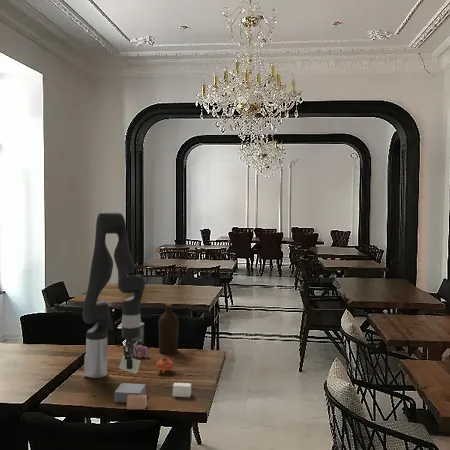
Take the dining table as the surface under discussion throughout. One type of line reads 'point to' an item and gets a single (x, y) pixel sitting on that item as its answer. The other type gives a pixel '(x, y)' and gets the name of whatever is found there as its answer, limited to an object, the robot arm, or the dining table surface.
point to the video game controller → (142, 351)
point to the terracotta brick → (136, 401)
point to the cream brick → (182, 389)
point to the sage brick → (134, 365)
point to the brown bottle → (168, 331)
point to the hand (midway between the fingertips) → (130, 367)
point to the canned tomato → (141, 338)
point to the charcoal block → (128, 391)
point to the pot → (164, 364)
